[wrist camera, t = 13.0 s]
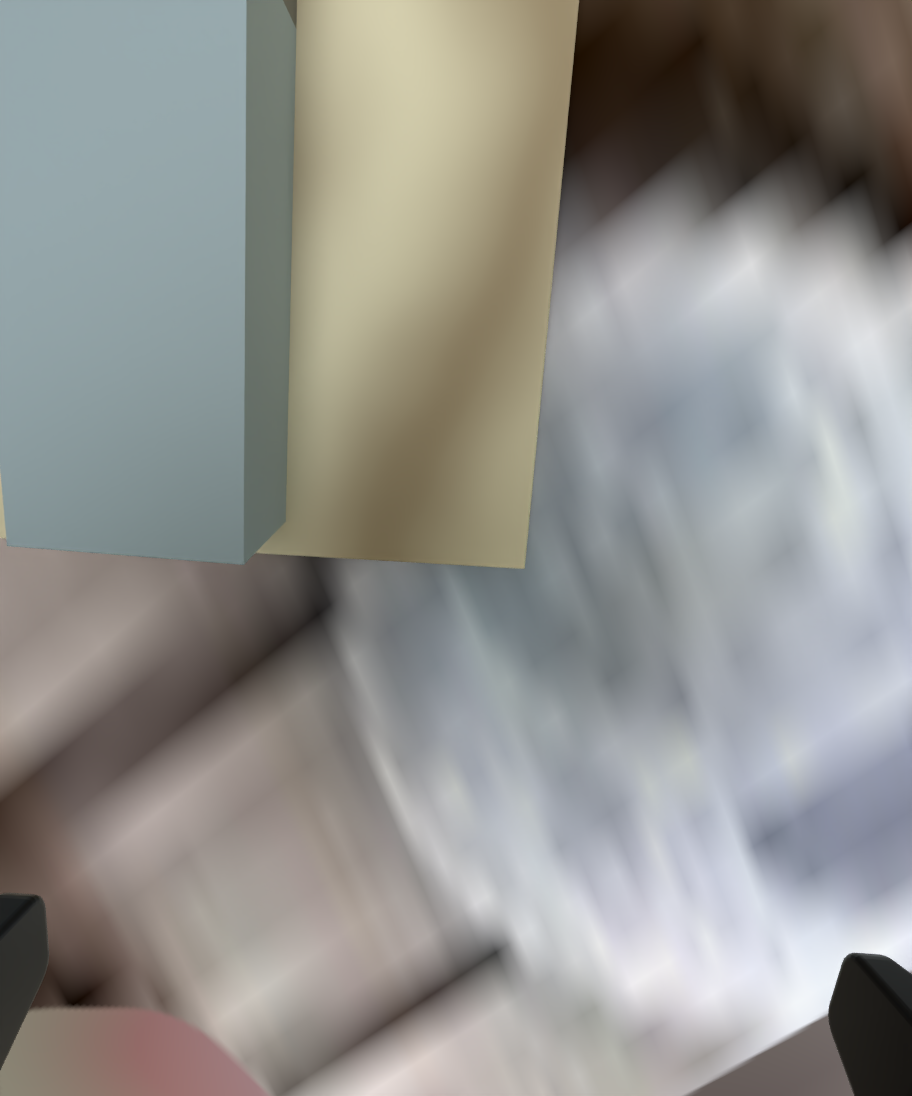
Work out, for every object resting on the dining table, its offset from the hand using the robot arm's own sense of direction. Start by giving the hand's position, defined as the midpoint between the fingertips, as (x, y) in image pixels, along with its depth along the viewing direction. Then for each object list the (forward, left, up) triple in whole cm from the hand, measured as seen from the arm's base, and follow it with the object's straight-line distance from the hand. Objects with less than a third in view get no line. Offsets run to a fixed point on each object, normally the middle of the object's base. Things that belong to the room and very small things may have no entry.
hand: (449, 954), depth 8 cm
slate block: (-7, +2, -10) cm, 12 cm away
